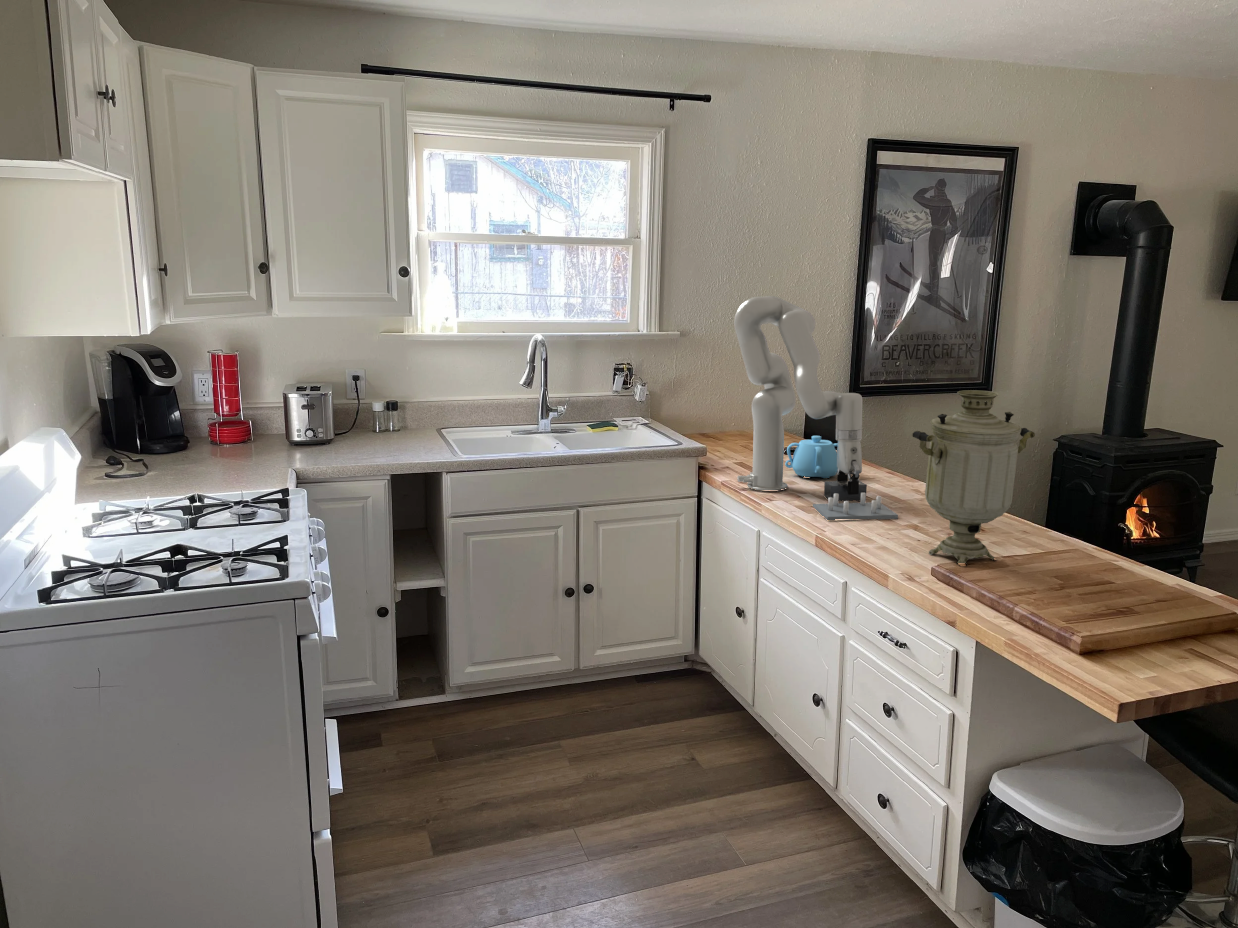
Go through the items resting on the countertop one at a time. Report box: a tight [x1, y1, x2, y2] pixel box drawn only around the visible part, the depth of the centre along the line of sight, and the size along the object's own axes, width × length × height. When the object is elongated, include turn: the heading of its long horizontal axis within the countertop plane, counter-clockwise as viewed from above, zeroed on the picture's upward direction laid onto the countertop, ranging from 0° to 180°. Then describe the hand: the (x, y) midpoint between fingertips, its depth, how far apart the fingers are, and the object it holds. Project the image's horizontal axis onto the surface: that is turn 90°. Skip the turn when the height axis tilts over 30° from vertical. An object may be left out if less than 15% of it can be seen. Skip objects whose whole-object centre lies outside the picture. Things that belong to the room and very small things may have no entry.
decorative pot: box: [784, 435, 838, 479], centre depth 306 cm, size 16×16×14 cm
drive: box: [823, 479, 868, 502], centre depth 276 cm, size 11×6×5 cm, turn 96°
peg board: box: [812, 492, 899, 521], centre depth 260 cm, size 20×14×5 cm
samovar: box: [911, 389, 1036, 564], centre depth 219 cm, size 30×26×40 cm
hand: (847, 490), depth 276 cm, fingers open, 9 cm apart
